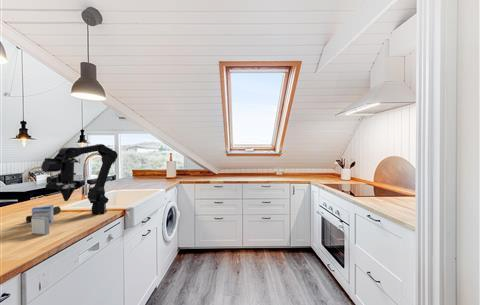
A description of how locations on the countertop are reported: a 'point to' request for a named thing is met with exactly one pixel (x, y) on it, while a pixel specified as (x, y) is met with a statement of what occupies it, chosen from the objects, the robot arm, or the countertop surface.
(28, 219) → the hand tool
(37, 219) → the tile
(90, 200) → the robot arm
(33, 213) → the medicine box
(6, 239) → the countertop surface
